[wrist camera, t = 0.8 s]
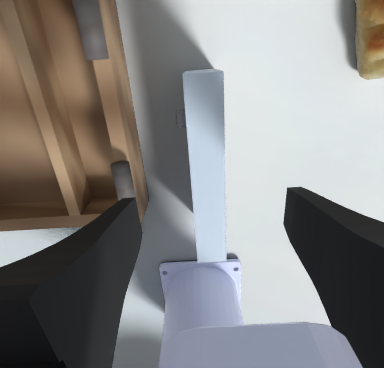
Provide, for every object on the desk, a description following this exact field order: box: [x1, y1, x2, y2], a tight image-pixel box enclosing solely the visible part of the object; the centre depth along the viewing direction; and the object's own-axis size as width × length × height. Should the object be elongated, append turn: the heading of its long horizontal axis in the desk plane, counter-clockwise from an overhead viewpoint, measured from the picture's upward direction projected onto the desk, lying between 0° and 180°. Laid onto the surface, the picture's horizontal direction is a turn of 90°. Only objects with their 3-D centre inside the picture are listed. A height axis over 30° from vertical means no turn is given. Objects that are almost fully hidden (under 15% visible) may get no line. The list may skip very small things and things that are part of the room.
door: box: [176, 69, 227, 263], centre depth 17 cm, size 12×3×6 cm, turn 4°
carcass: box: [0, 0, 149, 231], centre depth 17 cm, size 16×14×5 cm
